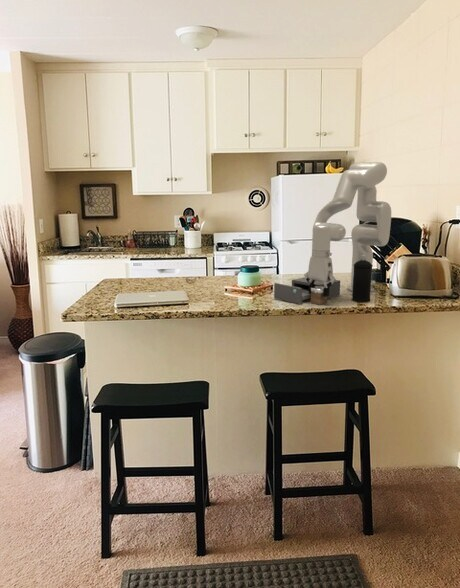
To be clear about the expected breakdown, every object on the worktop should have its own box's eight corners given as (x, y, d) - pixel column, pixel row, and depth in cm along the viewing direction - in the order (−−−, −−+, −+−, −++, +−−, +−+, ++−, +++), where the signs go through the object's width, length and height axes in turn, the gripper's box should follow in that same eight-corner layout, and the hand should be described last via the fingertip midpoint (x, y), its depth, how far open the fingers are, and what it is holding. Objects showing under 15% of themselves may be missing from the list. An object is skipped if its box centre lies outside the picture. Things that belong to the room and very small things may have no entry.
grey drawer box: (312, 290, 249) (312, 275, 248) (339, 295, 238) (340, 280, 236) (291, 294, 239) (291, 279, 237) (319, 300, 228) (319, 285, 226)
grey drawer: (296, 293, 240) (296, 278, 239) (322, 298, 230) (323, 283, 228) (273, 298, 230) (273, 283, 228) (299, 304, 219) (300, 288, 218)
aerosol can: (374, 301, 227) (377, 256, 223) (360, 303, 223) (363, 257, 219) (361, 297, 234) (363, 253, 230) (347, 299, 230) (350, 254, 226)
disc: (317, 289, 227) (317, 285, 227) (330, 291, 222) (330, 288, 222) (307, 291, 222) (307, 287, 222) (320, 294, 217) (320, 290, 217)
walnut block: (317, 300, 227) (318, 289, 226) (326, 302, 223) (327, 291, 222) (310, 302, 223) (310, 291, 222) (319, 304, 220) (320, 293, 219)
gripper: (343, 255, 215) (340, 297, 219) (310, 251, 227) (308, 290, 231) (332, 257, 210) (330, 299, 214) (299, 252, 222) (297, 293, 226)
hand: (318, 294), depth 222 cm, fingers closed on disc, 7 cm apart
